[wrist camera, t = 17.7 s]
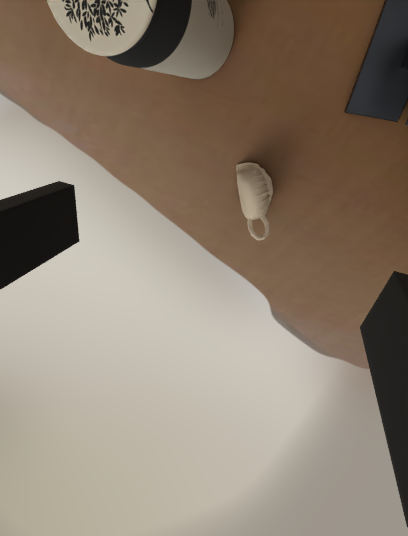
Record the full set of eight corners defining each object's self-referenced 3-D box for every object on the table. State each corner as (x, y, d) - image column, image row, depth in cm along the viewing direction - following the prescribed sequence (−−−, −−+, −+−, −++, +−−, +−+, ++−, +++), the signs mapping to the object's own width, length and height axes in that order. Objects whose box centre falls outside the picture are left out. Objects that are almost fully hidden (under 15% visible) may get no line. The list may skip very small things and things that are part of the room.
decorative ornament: (269, 157, 34) (264, 166, 30) (275, 224, 38) (271, 240, 33) (236, 163, 36) (226, 171, 31) (245, 226, 39) (237, 242, 35)
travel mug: (172, 86, 34) (65, 74, 19) (155, -2, 30) (7, -103, 15) (239, 69, 31) (176, 39, 16) (229, -30, 27) (136, -186, 13)
